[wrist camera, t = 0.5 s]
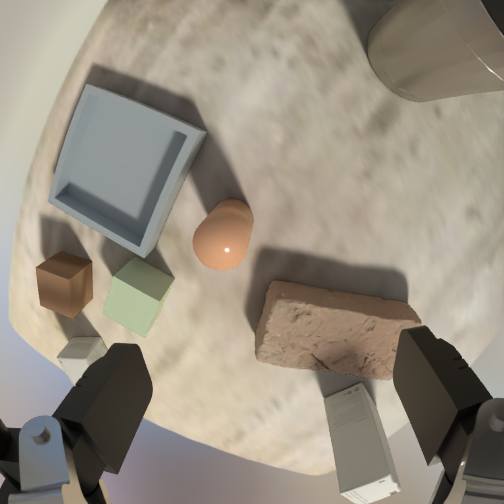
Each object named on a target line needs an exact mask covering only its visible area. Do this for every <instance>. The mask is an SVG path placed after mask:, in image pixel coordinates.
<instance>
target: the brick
mask: <svg viewBox="0 0 504 504" xmlns="http://www.w3.org/2000/svg"><path fill="white" fill-rule="evenodd" d="M418 326H421V319H420V318H419V317H418V315H417V314H416V312H415V311H414V310H413V309H412V308H411V307H410V305H408V304H407V303H404V302H402V301H397V300H392V299H387V300H383V299H382V298H380V297H378V296H376V297H372V296H367V295H360V294H356V293H347V292H341V291H333V290H329V289H323V288H314V287H311V286H308V285H303V284H298V283H292V282H285V281H276V280H275V281H272V282H271V284H270V285H269V288H268V291H267V292H266V299H265V304H264V307H263V313H262V316H261V317H260V321H259V322H258V324H257V328H256V333H255V355H256V358H257V360H258V361H260V362H263V363H269V364H273V365H277V366H282V367H289V368H296V369H311V370H319V369H321V370H324V371H333V372H335V373H339V374H345V375H346V374H352V375H355V376H360V377H365V378H372V379H380V380H390V379H392V378H393V367H394V362H395V357H396V352H397V347H398V341H399V336H400V332H401V330H402V329H406V328H412V327H418Z"/></svg>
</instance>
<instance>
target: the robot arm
mask: <svg viewBox="0 0 504 504" xmlns="http://www.w3.org/2000/svg"><path fill="white" fill-rule="evenodd" d="M367 52H368V57H369V61H370V63H371V66H372V68H373V70H374V71H375V73H376V75H377V76H378V78H379V79H380V80H381V81H382V82H383V84H384V85H385V86H386V87H388V88H389V89H390V90H391V91H392V92H394V93H395V94H397V95H399V96H400V97H402V98H405V99H408V100H410V101H417V102H425V101H431V100H437V99H443V98H450V97H456V96H462V95H469V94H476V93H483V92H492V91H501V90H504V0H399V1H398V2H397V3H396V4H395V5H394V6H393V7H392V8H391V9H390V10H389V11H388V12H387V13H386V14H385V15H384V16H383V17H382V18H381V19H380V20H379V21H378V22H377V24H376V25H375V26H374V27H373V28H372V30H371V31H370V33H369V36H368V40H367ZM393 382H394V386H395V389H396V391H397V393H398V395H399V398H400V400H401V402H402V404H403V407H404V409H405V411H406V413H407V416H408V418H409V420H410V423H411V425H412V428H413V430H414V432H415V435H416V437H417V439H418V442H419V444H420V447H421V449H422V452H423V455H424V457H425V460H426V462H427V465H428V466H430V465H433V464H436V463H439V462H442V464H443V466H444V469H443V471H442V472H441V475H440V477H439V480H438V482H437V485H436V487H435V490H434V492H433V494H432V497H431V499H430V501H429V503H428V504H504V398H494V399H493V397H492V396H491V395H490V393H489V392H488V391H487V389H486V388H485V386H484V385H483V384H482V382H481V381H480V379H479V378H478V377H477V375H476V374H475V373H474V372H473V370H472V369H471V368H470V367H468V364H467V362H466V361H465V360H464V359H462V356H461V355H460V353H459V352H458V351H457V350H456V348H455V347H454V346H453V345H451V344H449V343H448V342H446V341H445V340H443V339H441V338H440V339H437V338H436V337H435V336H434V335H433V333H432V332H431V331H430V329H429V328H428V327H427V326H425V325H423V326H418V327H412V328H406V329H402V330H401V332H400V336H399V341H398V347H397V352H396V357H395V362H394V367H393ZM152 393H153V386H152V381H151V378H150V375H149V372H148V369H147V367H146V364H145V361H144V358H143V355H142V352H141V349H140V347H139V346H138V345H137V344H127V343H114V344H113V345H112V346H111V347H110V348H109V350H108V351H107V352H106V354H105V355H104V356H103V357H100V358H99V359H98V360H96V361H95V362H93V363H92V364H91V365H89V367H88V368H87V369H86V370H85V372H84V373H83V374H82V378H79V380H78V381H77V382H76V384H75V386H73V388H72V389H71V390H70V392H69V393H68V394H67V396H66V397H65V399H64V400H63V401H62V403H61V404H60V405H59V407H58V408H57V410H56V411H55V412H54V414H53V415H52V416H38V417H35V418H33V419H31V420H29V421H28V422H27V423H26V424H25V425H24V426H23V427H22V428H7V427H6V426H5V425H4V423H3V422H2V420H1V419H0V473H1V474H2V475H3V476H4V477H5V478H6V479H5V481H4V482H3V484H2V486H1V488H0V504H111V501H110V498H109V496H108V493H107V490H106V487H105V485H104V482H103V481H102V479H101V475H102V473H103V471H106V472H110V473H113V474H118V473H119V471H120V468H121V466H122V463H123V461H124V459H125V457H126V454H127V452H128V450H129V447H130V445H131V443H132V440H133V438H134V436H135V434H136V432H137V429H138V427H139V425H140V422H141V420H142V418H143V416H144V414H145V411H146V409H147V407H148V405H149V403H150V400H151V398H152Z"/></svg>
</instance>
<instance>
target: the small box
mask: <svg viewBox="0 0 504 504" xmlns="http://www.w3.org/2000/svg"><path fill="white" fill-rule="evenodd" d="M107 351H108V350H107V348H106V346H105V344H104V342H103V340H102V338H101V337H73V338H72V339H71V340H70V341H69V343H68V344H67V345H66V346H65V347H64V349H63V350H62V351H61V352H60V353H59V355H58V356H57V359H58V361H59V363H60V364H61V366H62V367H63V369H64V370H65V372H66V374H67V375H68V377H69V378H70V380H71V381H72V383H73V384H74V386H75V384H76V382H77V381H78V380H79V378H82V374H83V373H84V372H85V370H86V369H87V368H88V367H89V365H91V364H92V363H93V362H95V361H96V360H98V359H99V358H100V357H103V356H104V355H105V354H106V352H107Z"/></svg>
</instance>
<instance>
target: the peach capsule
mask: <svg viewBox="0 0 504 504" xmlns="http://www.w3.org/2000/svg"><path fill="white" fill-rule="evenodd" d="M253 222H254V219H253V214H252V211H251V209H250V208H249V207H248V206H247V205H246V204H245V203H244V202H242V201H240V200H237V199H227V200H224V201H222V202H220V203H219V204H217V205H216V207H215V208H214V209H213V210H212V211H211V212H210V214H209V215H208V216H207V217H206V218H205V219H204V221H203V222H202V223H201V224H200V225H199V227H198V228H197V229H196V231H195V233H194V236H193V249H194V252H195V254H196V256H197V257H198V259H199V260H200V261H201V262H202V263H203V264H204V265H206V266H208V267H210V268H212V269H216V270H227V269H231V268H233V267H235V266H237V265H238V264H239V263H240V262H241V261H242V260H243V259H244V257H245V255H246V252H247V248H248V244H249V240H250V235H251V231H252V227H253Z"/></svg>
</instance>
